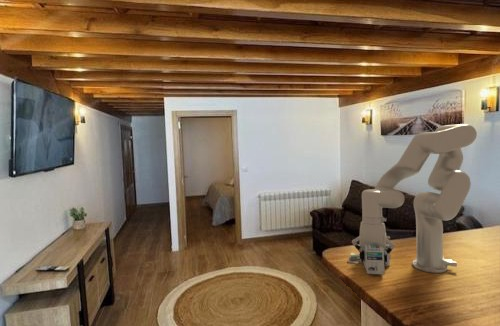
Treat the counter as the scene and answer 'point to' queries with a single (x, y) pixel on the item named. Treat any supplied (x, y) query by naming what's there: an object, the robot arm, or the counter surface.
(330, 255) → the counter surface
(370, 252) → the light bulb box
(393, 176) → the robot arm
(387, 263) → the plate
